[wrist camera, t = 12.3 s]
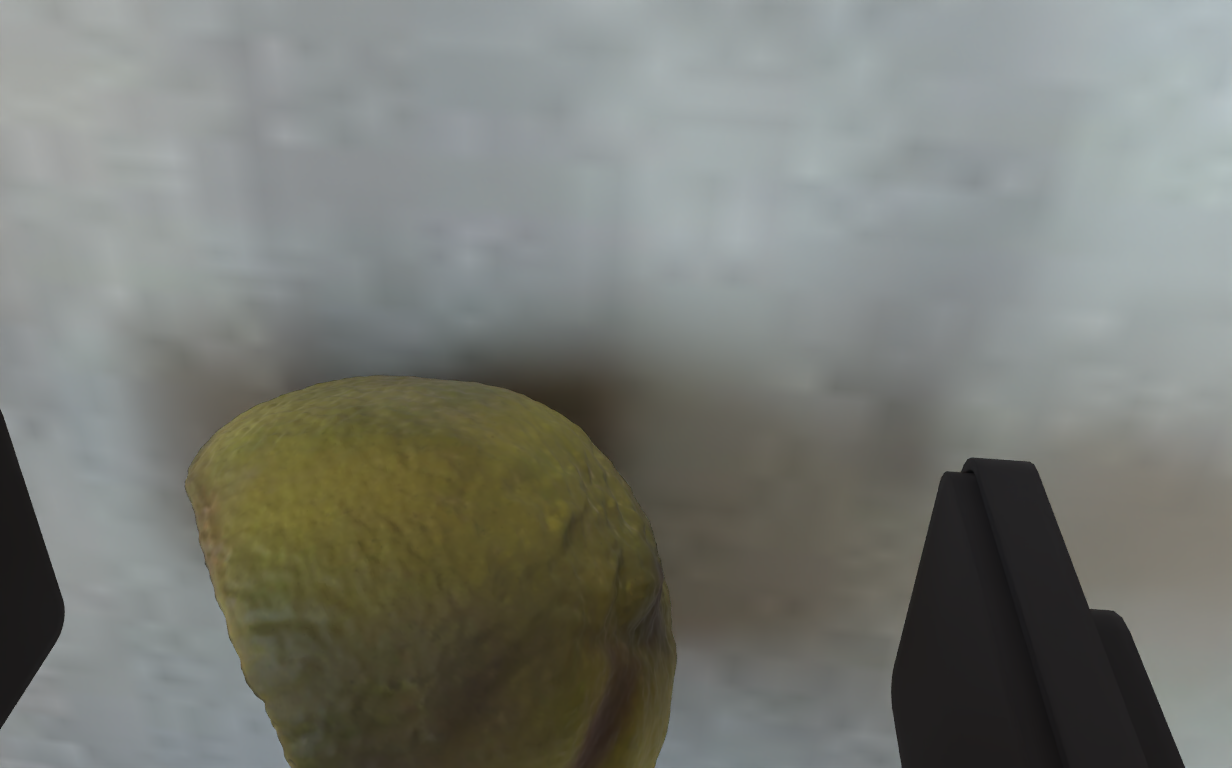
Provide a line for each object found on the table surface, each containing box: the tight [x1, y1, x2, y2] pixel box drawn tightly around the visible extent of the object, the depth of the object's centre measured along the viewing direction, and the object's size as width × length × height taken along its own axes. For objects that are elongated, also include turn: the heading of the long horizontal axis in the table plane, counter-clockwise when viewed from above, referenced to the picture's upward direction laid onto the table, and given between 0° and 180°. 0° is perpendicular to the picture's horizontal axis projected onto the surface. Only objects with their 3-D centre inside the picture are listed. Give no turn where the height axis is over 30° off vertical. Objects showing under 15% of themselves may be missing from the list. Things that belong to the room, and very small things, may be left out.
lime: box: [185, 375, 677, 768], centre depth 10 cm, size 4×5×5 cm
